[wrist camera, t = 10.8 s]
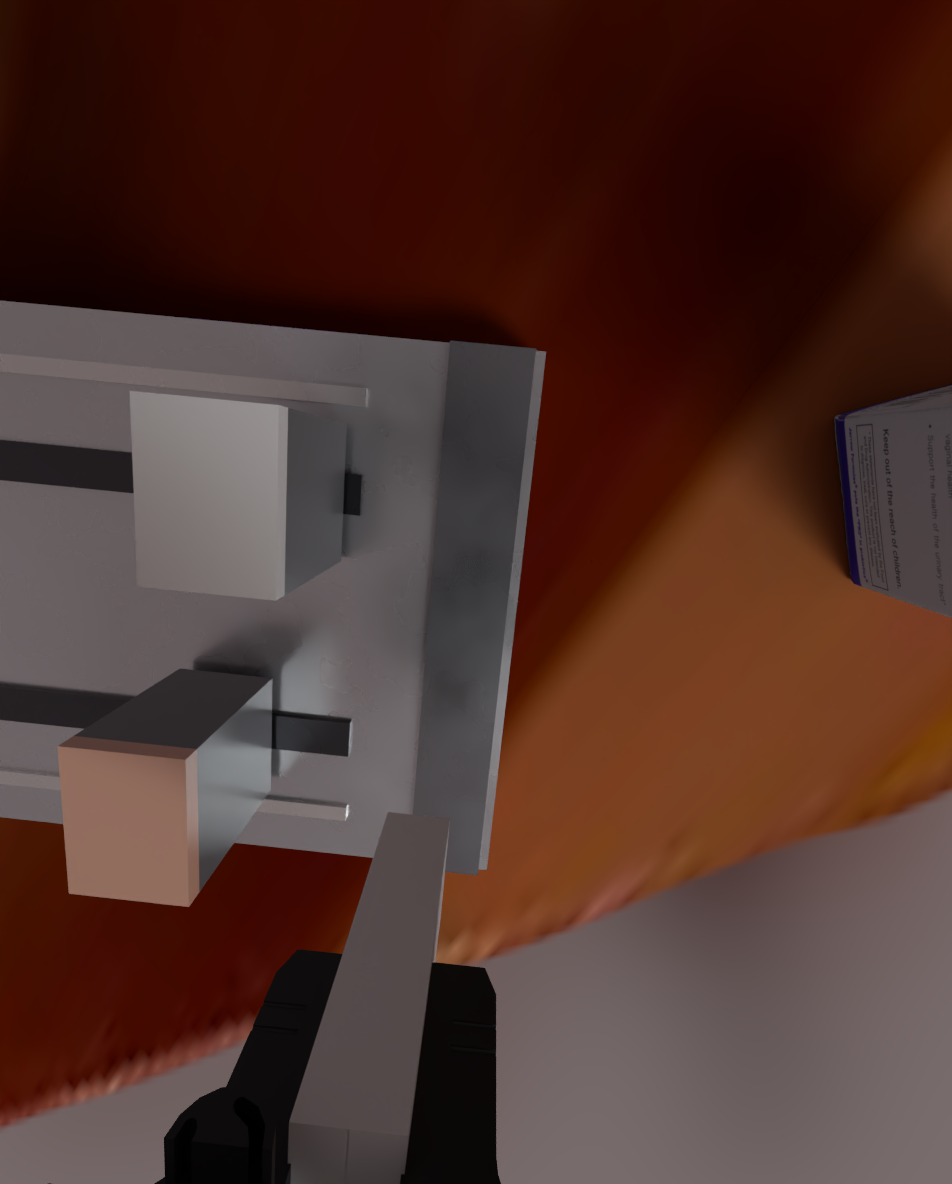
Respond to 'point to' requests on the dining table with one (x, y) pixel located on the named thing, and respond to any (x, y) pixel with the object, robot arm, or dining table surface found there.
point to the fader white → (234, 495)
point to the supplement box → (900, 497)
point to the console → (303, 616)
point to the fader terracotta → (165, 786)
